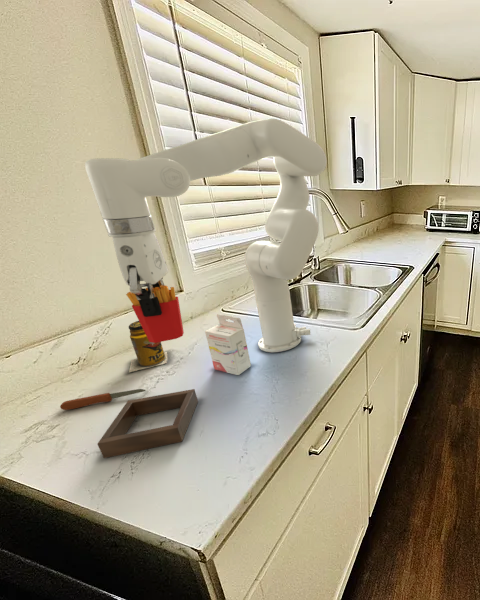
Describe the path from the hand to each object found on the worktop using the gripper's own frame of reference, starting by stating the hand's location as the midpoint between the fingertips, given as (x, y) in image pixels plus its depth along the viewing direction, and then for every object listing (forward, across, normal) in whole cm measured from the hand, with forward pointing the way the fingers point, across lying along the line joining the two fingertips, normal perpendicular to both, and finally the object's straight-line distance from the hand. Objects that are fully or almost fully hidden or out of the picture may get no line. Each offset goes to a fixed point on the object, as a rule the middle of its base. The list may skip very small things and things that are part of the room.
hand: (157, 310), depth 71 cm
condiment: (+22, +18, +13) cm, 31 cm away
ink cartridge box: (+22, +7, -10) cm, 25 cm away
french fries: (+7, 0, 0) cm, 7 cm away
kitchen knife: (+22, +1, +16) cm, 27 cm away
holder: (+21, -12, +2) cm, 25 cm away
